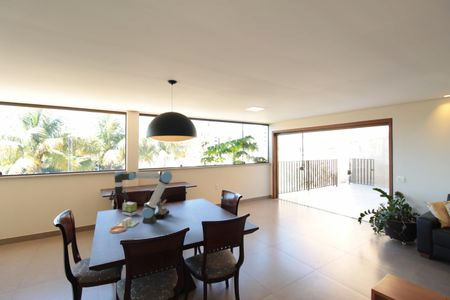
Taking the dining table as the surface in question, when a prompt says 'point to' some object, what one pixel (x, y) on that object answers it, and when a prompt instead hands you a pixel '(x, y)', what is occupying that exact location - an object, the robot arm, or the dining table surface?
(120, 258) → the dining table surface
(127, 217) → the cream rectangular block
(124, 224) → the pale grey block
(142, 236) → the dining table surface
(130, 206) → the tea box
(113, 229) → the bowl
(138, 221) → the parts tray
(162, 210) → the coral
